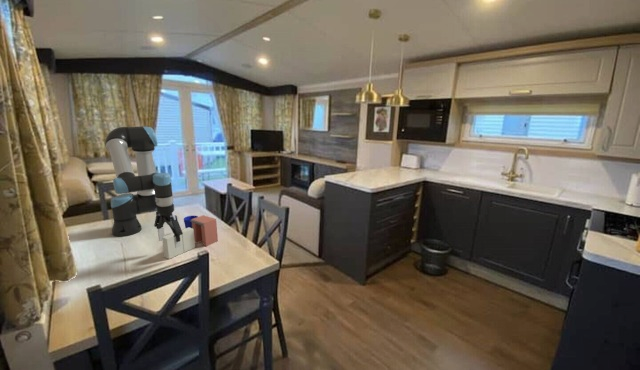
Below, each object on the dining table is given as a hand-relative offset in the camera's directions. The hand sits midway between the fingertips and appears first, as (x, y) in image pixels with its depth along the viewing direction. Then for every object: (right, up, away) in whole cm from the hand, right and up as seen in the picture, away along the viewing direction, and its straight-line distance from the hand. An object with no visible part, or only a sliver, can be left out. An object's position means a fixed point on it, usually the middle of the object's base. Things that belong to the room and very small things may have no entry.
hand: (169, 243), depth 143 cm
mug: (0, 0, +30) cm, 30 cm away
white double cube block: (+3, -6, +6) cm, 9 cm away
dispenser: (+11, -3, +19) cm, 22 cm away
